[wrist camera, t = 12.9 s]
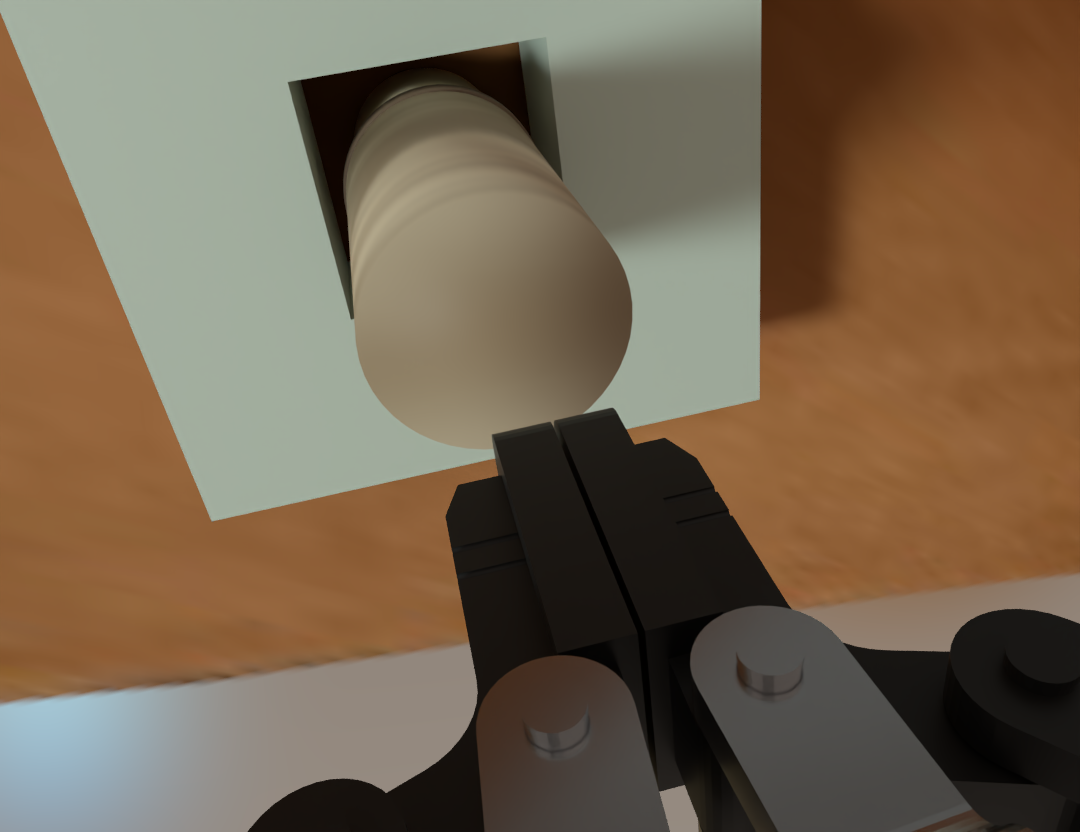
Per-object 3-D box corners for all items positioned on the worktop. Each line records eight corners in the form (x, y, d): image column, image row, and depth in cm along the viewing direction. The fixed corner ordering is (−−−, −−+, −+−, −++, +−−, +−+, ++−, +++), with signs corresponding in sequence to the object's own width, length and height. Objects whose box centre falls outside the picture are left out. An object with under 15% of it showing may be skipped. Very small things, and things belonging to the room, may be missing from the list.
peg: (321, 70, 23) (318, 223, 13) (498, 39, 24) (624, 164, 14) (362, 240, 26) (387, 476, 16) (522, 209, 26) (643, 419, 16)
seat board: (-4, -154, 20) (-71, -160, 16) (694, -255, 21) (762, -277, 18) (225, 444, 28) (211, 521, 25) (711, 340, 30) (759, 399, 27)
